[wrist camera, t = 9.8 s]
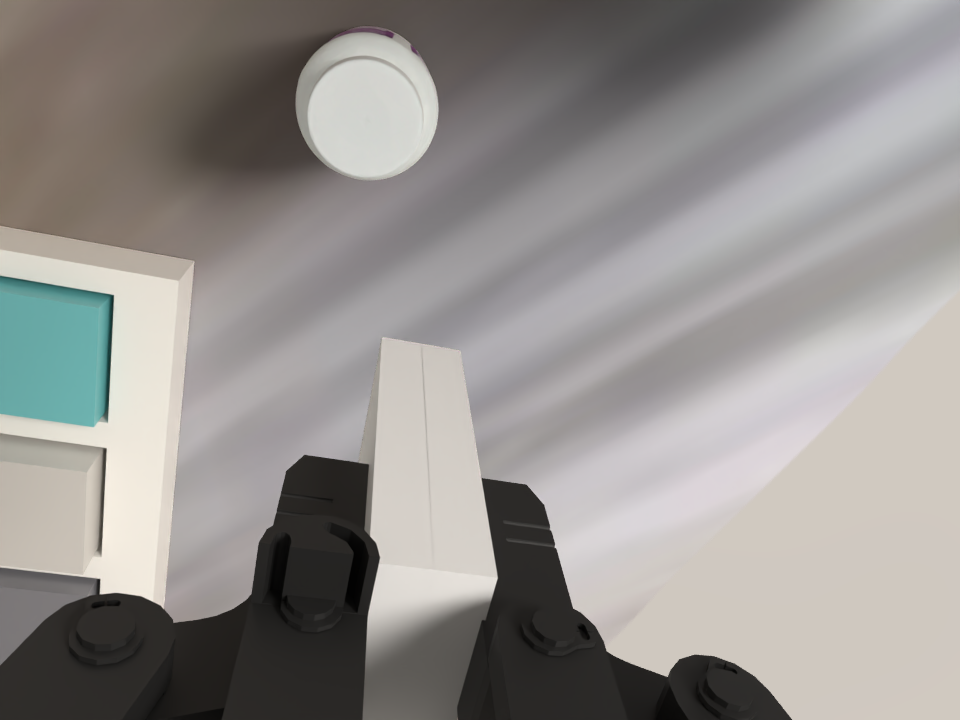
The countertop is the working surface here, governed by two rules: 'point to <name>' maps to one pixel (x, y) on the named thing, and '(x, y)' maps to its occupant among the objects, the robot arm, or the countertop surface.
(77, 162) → the countertop surface
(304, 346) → the countertop surface
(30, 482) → the grey key
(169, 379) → the keypad
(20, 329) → the teal key
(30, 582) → the charcoal key
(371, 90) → the pill bottle
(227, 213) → the countertop surface
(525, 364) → the countertop surface
